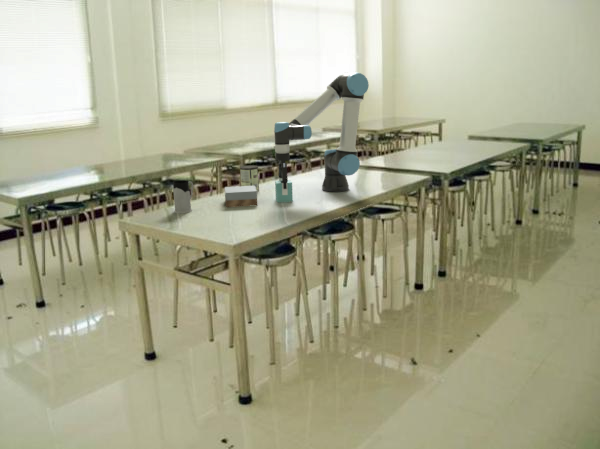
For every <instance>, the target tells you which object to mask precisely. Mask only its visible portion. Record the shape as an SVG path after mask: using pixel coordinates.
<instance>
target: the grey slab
mask: <svg viewBox="0 0 600 449" xmlns="http://www.w3.org/2000/svg"><path fill="white" fill-rule="evenodd" d="M225 197H226V201H228V200H245V199H257V200H258V191H257V190H256V187H255V186H224V198H225Z"/></svg>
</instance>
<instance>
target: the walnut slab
mask: <svg viewBox="0 0 600 449" xmlns="http://www.w3.org/2000/svg"><path fill="white" fill-rule="evenodd" d="M224 200H225V208H237V207H238V208H239V207H251V206H250V205H256V206H258V198H257V199H245V200H228V201H226V197H225V196H224Z"/></svg>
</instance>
